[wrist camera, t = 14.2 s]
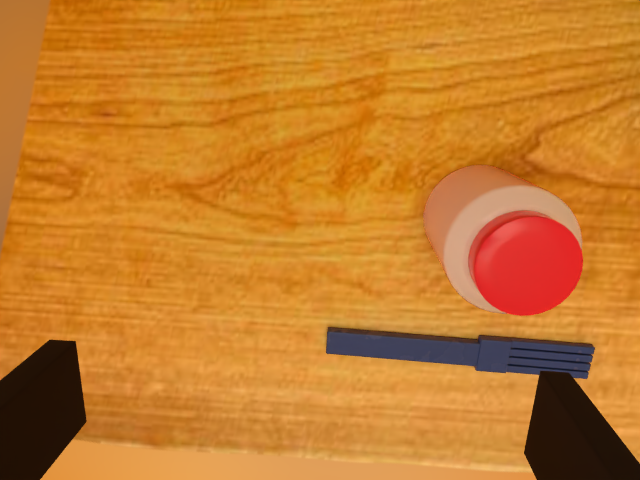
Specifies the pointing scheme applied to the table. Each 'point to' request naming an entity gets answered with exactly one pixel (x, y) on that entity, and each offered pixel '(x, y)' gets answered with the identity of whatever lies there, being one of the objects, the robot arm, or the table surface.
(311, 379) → the table surface
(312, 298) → the table surface
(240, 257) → the table surface
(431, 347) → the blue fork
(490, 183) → the pill bottle
